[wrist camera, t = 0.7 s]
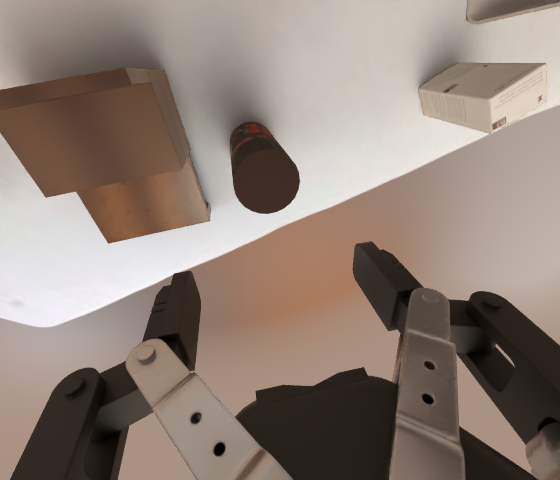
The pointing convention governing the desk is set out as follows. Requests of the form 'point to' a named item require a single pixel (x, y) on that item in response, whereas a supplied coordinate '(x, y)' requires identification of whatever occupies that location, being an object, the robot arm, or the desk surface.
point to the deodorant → (261, 170)
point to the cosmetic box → (485, 94)
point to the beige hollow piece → (504, 9)
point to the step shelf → (108, 148)
